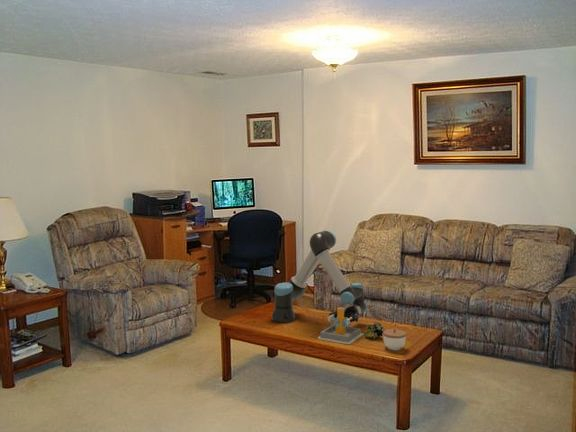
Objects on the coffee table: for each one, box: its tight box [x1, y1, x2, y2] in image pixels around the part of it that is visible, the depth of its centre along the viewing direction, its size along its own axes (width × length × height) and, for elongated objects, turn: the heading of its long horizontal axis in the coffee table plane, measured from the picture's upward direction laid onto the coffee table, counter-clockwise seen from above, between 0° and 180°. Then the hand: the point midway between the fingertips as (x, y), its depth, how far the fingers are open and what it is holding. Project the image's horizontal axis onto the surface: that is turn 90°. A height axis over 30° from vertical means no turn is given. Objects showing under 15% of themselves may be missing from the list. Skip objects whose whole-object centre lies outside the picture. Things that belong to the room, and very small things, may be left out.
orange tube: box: [329, 306, 352, 334], centre depth 339 cm, size 12×10×15 cm
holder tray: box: [317, 324, 364, 345], centre depth 340 cm, size 20×20×4 cm
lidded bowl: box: [382, 328, 407, 351], centre depth 320 cm, size 13×13×11 cm
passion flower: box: [363, 321, 386, 341], centre depth 337 cm, size 11×11×12 cm
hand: (337, 320), depth 335 cm, fingers closed on orange tube, 11 cm apart
